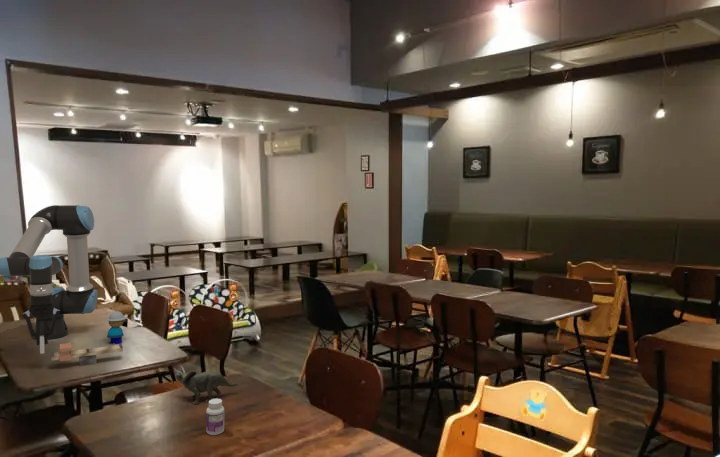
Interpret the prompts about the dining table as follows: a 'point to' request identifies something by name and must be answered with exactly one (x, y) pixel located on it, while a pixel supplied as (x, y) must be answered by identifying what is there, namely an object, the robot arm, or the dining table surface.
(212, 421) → the pill bottle
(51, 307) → the robot arm
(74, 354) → the beam
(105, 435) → the dining table surface
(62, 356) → the pink block
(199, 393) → the dinosaur figurine
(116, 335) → the toy
